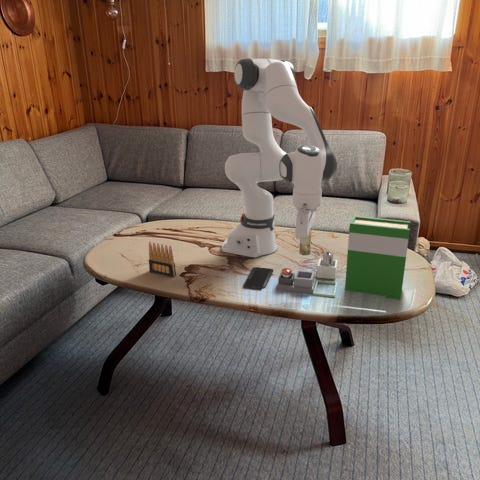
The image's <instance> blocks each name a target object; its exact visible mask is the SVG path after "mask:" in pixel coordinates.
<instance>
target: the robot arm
mask: <svg viewBox="0 0 480 480" xmlns="http://www.w3.org/2000/svg"><path fill="white" fill-rule="evenodd" d="M295 71H296V70H295V68H294V65H293V64H292V63H291V62H290V61H288V60H284V59H281V60H279V59H275V58H249V57H248V58H243V59H240V60H239V61H238V62H237V63H236V65H235V67H234V74H233V75H234V76H233V77H234V82H235V85H236V86H237V87H238V88H239V89H240V90H243V92H242V96H241V97H242V99H241V128H242V136H243V138H244V139H245V140H246V141H247V142H250V143H252V144H253V145H256V146H257V147H258V148H259V151H258V152H243V153H242V152H241V153H237V154H233V155H229V156H228V158H227V159H226V161H225V163H224V174H225V175H226V177H227V178H228V180H229V181H231V182H232V183H233V184H235V185H236V186H237V187H238V188H239V190H240V191H241V193H242V196H243V201H244V212H242V214H241V216H240V218H239V224H237V225H236V226H235V227H233V228H232V229H231V230H230V231H229V232H228V235H227V238H226V239H225V240H224V242H223V243H222V244H221V251H222V252H223V253H229V254H233V255H239V256H244V257H248V258H249V257H250V258H258V257H260V256H266V255H270V254H272V253H274V252H276V251H277V249H278V246H277V241H276V237H275V223H276V222H275V221H276V219H275V215H274V197H273V194H272V193H271V192H269V191H267V190H266V189H264V188H261V187H260V186H259V185H258V183H260V182H276V181H282V180H284V181H286V182H287V183H290V184H291V183H292V184H293V189H292V205H293V207H295V208H296V211H297V213H296V221H295V232H294V233H295V237H296V238H297V239H298V238H299V239H300V238H301V243H302V244H307V237H308V234H309V231H310V229H311V228H312V226H313V224H314V220H315V219H316V215H317V211H318V210H317V209H319V208H320V207H321V206H322V198H323V197H322V193H323V188H322V182H324V181H325V182H327V181H330V179H331V178H332V177H334V175H335V174H336V172H337V170H338V169H337V168H338V161H337V158H336V156H335V154H334V152H333V151H332V149H331V148H330V146H329V143H328V141H327V139H326V136H325V134H324V131H323V129H322V127H321V125H320V122H319V119H318V117H317V114H316V113H315V111H314V109H313V108H312V106H310V105H308V104H307V103H306V102H305V101H304V100H303V98H302V96H301V95H300V93H299V90H298V85H297V82H296V80H295V79H296V78H295V77H296V72H295ZM272 117H273V118H274V119H276V120H278V121H280V122H283V123H286V124H290V125H293V126H295V127H298V128H300V129H301V130H302V131H304V133H305V134H306V136H307V140H308V142H309V143H310V144H305V145H301V146H298V147H297V148H296V149H295V151H291V152H288V153H287V152H285V151H284V150H283V149H282V148H281V147H280V145H279V144H278V143H277V141H276V139H275V136H274V131H273V123H272V122H273V121H272ZM311 230H312V229H311Z"/></svg>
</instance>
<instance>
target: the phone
mask: <svg viewBox="0 0 480 480" xmlns="http://www.w3.org/2000/svg"><path fill="white" fill-rule="evenodd" d="M273 273H274V268H268V267H256V266H255V267H254V266H253V267H252V269H251V270H250V272H249V273H248V276H247V277H246V279H245V280H244V283H243V285H242V287H243V288H244V289H251V290H259V291H263V289H266V287H267V285H268V283H269V282H270V280H271V277H272V275H273Z"/></svg>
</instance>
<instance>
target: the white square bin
mask: <svg viewBox="0 0 480 480" xmlns="http://www.w3.org/2000/svg"><path fill="white" fill-rule="evenodd" d="M322 263H323V258H321V257H319V261H318V264H317V271H316V272H317V274H316V279H328V280H336V277H337V272H338V259H333V267H331V266H322Z"/></svg>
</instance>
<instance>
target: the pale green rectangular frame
mask: <svg viewBox="0 0 480 480" xmlns="http://www.w3.org/2000/svg"><path fill="white" fill-rule="evenodd" d="M319 283H320V284H328V285H334V291H333V294H331V293H326V292H325V293H322V292H317V287H318V284H319ZM337 288H338V282H337V281H331V280H321V279H316V284H315V288H314V291H313V294H312V295H313V296H319V297H327V298H328V297H329V298H336V293H337Z"/></svg>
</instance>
